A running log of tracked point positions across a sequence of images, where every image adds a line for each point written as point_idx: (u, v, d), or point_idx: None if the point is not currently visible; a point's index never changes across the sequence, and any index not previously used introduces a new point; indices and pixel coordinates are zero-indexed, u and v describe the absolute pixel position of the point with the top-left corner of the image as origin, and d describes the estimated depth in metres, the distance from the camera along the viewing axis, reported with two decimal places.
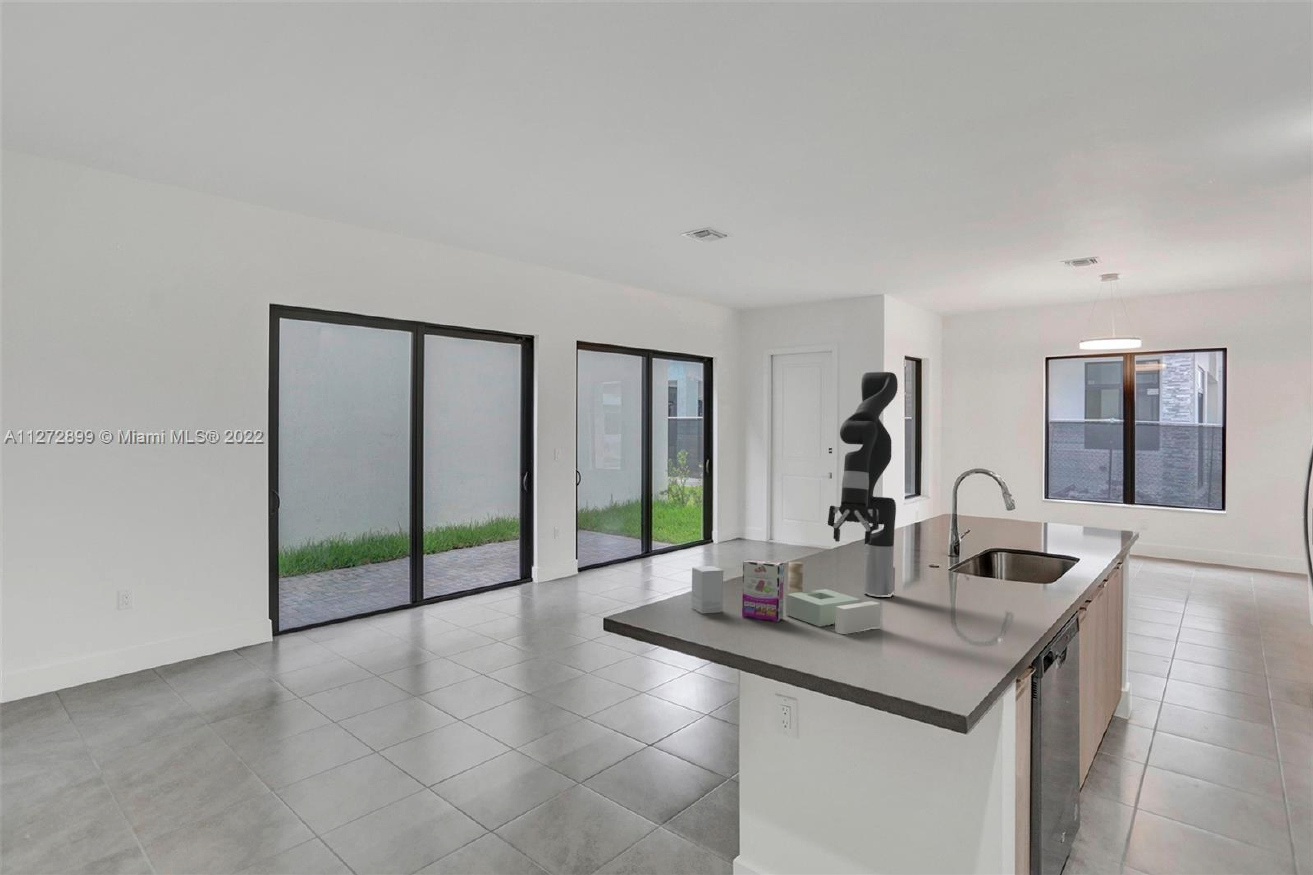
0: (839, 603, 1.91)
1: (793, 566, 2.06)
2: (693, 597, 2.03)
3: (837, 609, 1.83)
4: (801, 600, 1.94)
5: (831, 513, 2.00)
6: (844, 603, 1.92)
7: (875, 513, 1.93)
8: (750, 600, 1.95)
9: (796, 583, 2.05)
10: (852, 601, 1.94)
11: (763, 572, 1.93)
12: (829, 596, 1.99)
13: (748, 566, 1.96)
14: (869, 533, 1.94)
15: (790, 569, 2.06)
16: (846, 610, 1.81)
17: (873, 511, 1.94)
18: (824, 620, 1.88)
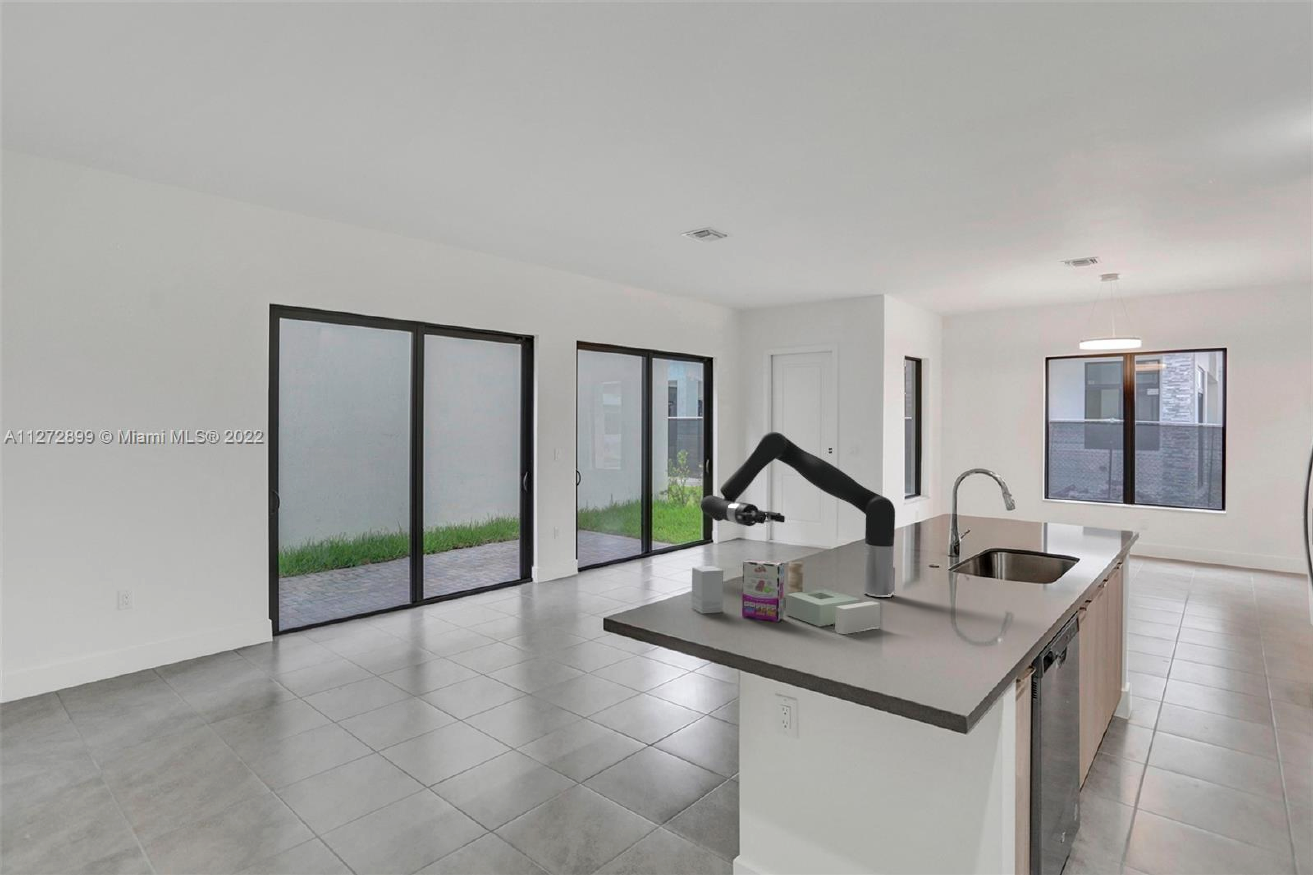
0: (839, 603, 1.91)
1: (793, 566, 2.06)
2: (693, 597, 2.03)
3: (837, 609, 1.83)
4: (801, 600, 1.94)
5: None
6: (844, 603, 1.92)
7: (740, 520, 2.21)
8: (750, 600, 1.95)
9: (796, 583, 2.05)
10: (852, 601, 1.94)
11: (763, 572, 1.93)
12: (829, 596, 1.99)
13: (748, 566, 1.96)
14: (754, 521, 2.17)
15: (790, 569, 2.06)
16: (846, 610, 1.81)
17: (740, 520, 2.22)
18: (824, 620, 1.88)
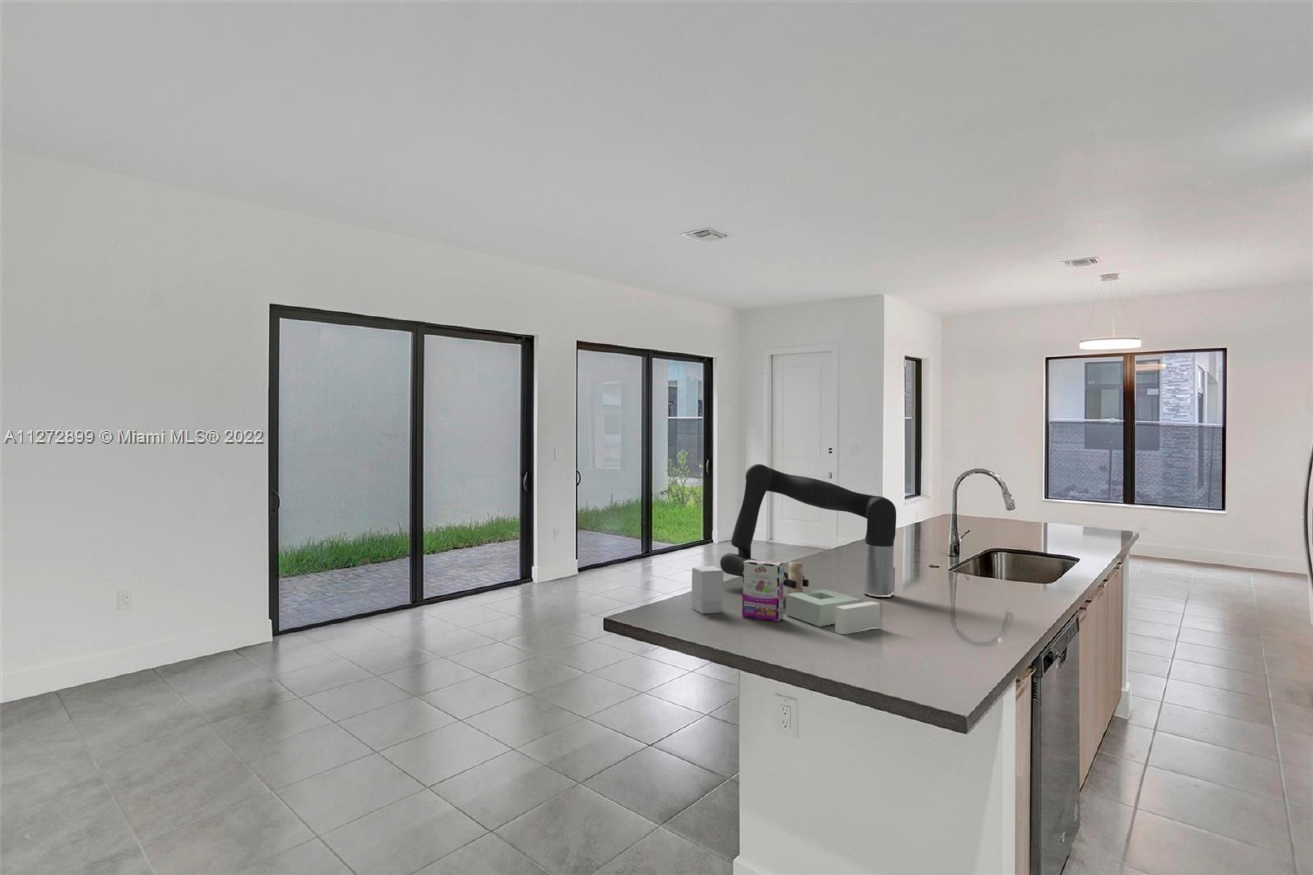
0: (839, 603, 1.91)
1: (793, 566, 2.06)
2: (693, 597, 2.03)
3: (837, 609, 1.83)
4: (801, 600, 1.94)
5: None
6: (844, 603, 1.92)
7: None
8: (750, 600, 1.95)
9: (796, 583, 2.05)
10: (852, 601, 1.94)
11: (763, 572, 1.93)
12: (829, 596, 1.99)
13: (748, 566, 1.96)
14: (786, 585, 2.06)
15: (790, 569, 2.06)
16: (846, 610, 1.81)
17: None
18: (824, 620, 1.88)
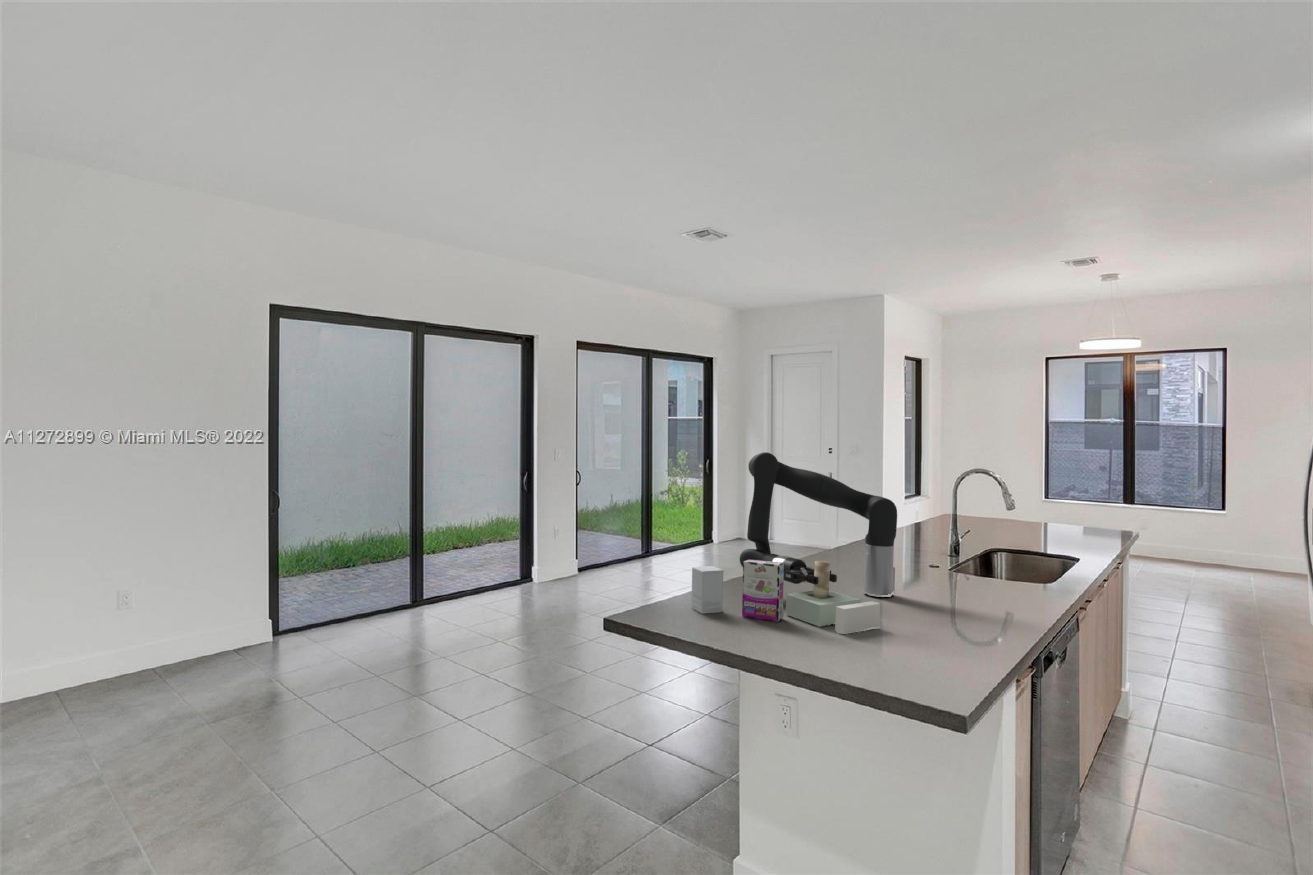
0: (839, 603, 1.91)
1: (820, 566, 1.96)
2: (693, 597, 2.03)
3: (837, 609, 1.83)
4: (801, 600, 1.94)
5: None
6: (844, 603, 1.92)
7: None
8: (750, 600, 1.95)
9: (823, 583, 1.96)
10: (852, 601, 1.93)
11: (763, 572, 1.93)
12: (829, 596, 1.99)
13: (748, 566, 1.96)
14: None
15: (816, 568, 1.97)
16: (846, 610, 1.81)
17: None
18: (824, 620, 1.88)
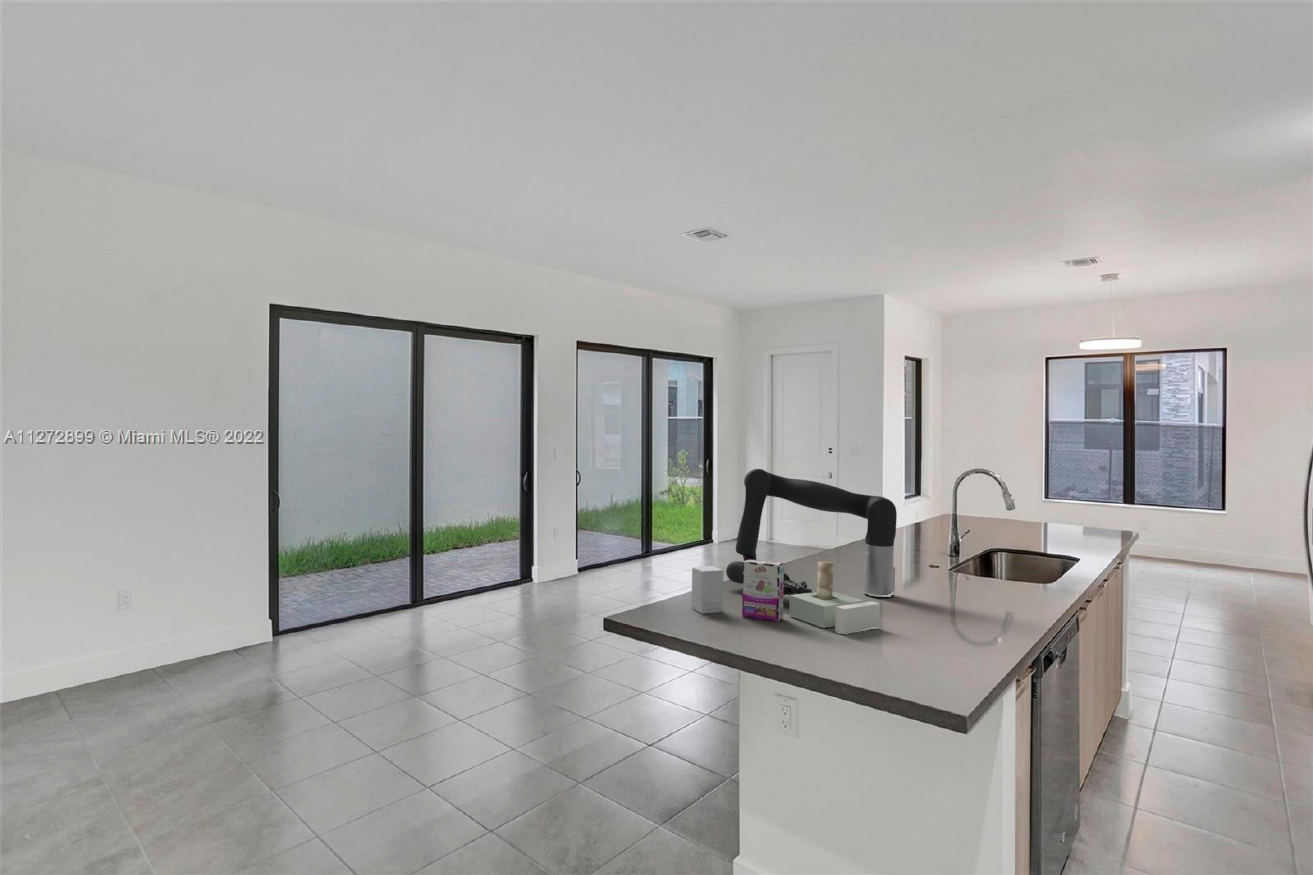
0: (843, 604, 1.90)
1: (823, 566, 1.95)
2: (693, 597, 2.03)
3: (837, 609, 1.83)
4: (805, 601, 1.92)
5: None
6: (848, 604, 1.91)
7: None
8: (750, 600, 1.95)
9: (826, 584, 1.95)
10: (856, 602, 1.92)
11: (763, 572, 1.93)
12: (833, 597, 1.98)
13: (748, 566, 1.96)
14: (799, 593, 2.04)
15: (820, 569, 1.96)
16: (846, 610, 1.81)
17: None
18: (828, 621, 1.87)
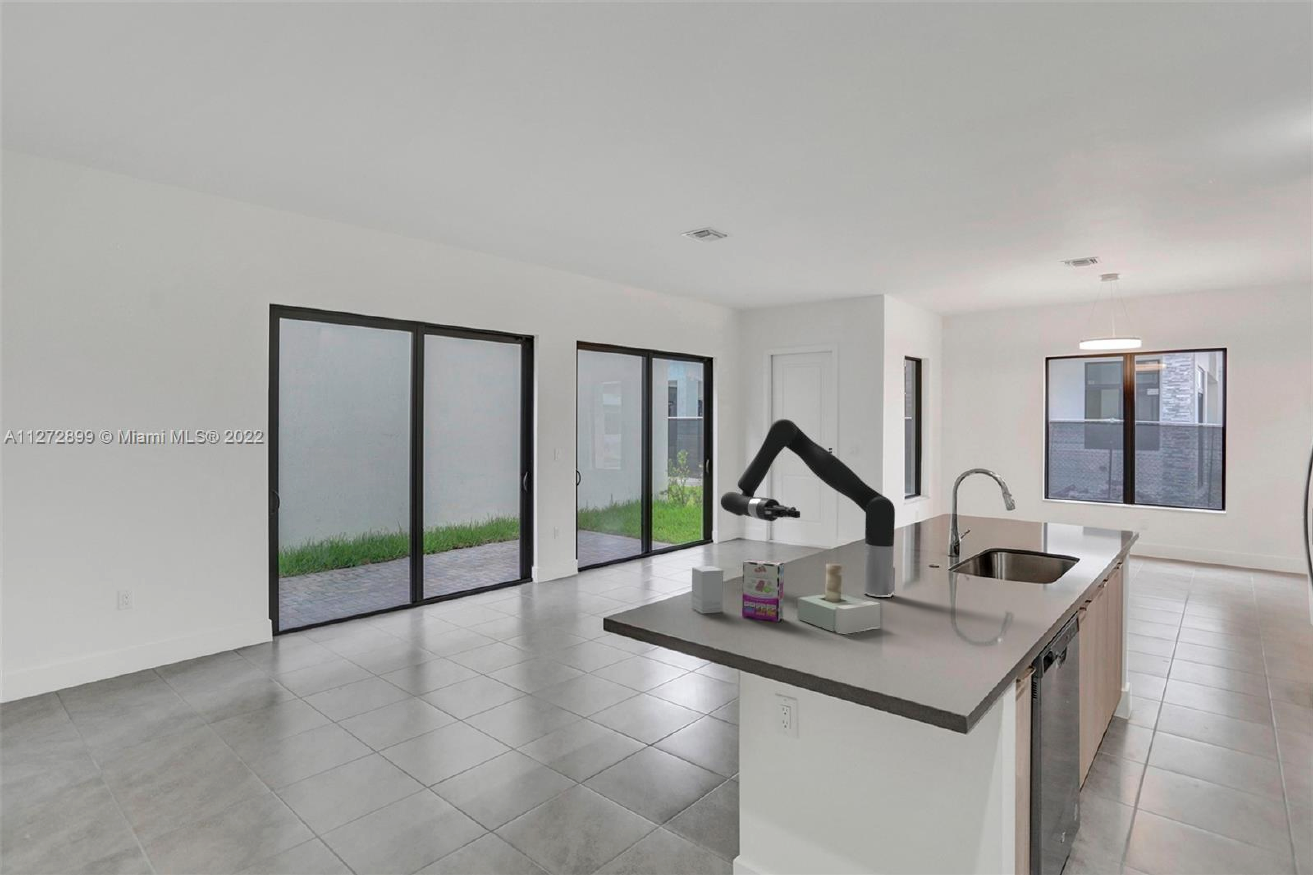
0: None
1: (832, 569, 1.92)
2: (693, 597, 2.03)
3: (837, 609, 1.83)
4: (813, 604, 1.89)
5: None
6: None
7: (769, 516, 2.20)
8: (750, 600, 1.95)
9: (835, 587, 1.92)
10: None
11: (763, 572, 1.93)
12: (842, 600, 1.95)
13: (748, 566, 1.96)
14: (788, 515, 2.18)
15: (828, 571, 1.93)
16: (846, 610, 1.81)
17: None
18: None
